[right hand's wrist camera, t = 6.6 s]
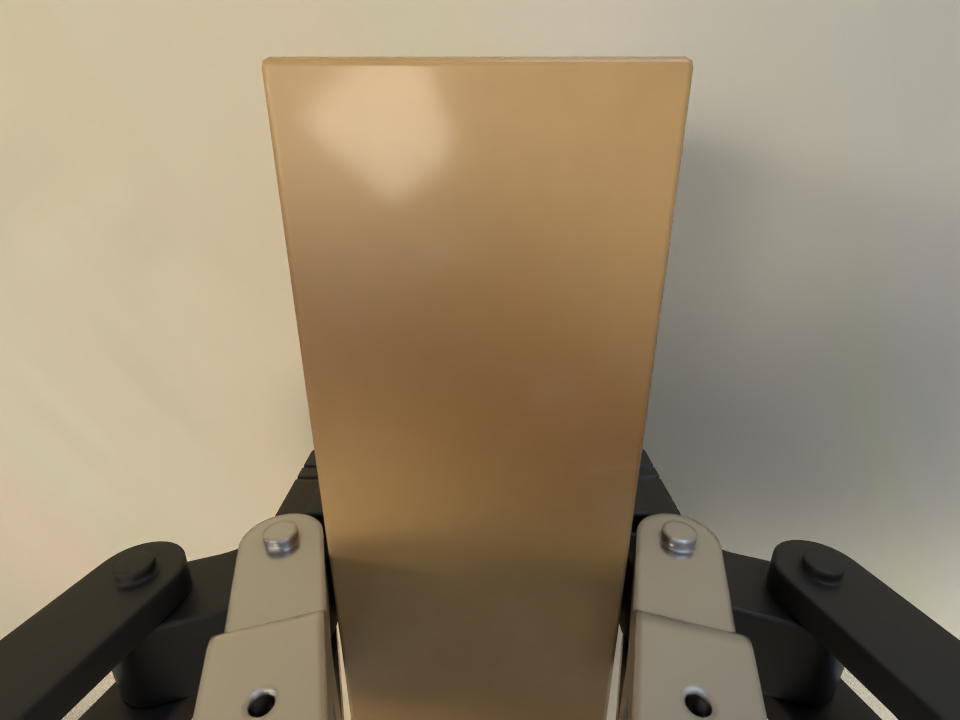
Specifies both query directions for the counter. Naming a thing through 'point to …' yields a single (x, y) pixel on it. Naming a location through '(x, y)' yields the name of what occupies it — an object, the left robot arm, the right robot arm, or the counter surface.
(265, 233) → the counter surface
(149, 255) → the counter surface
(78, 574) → the counter surface
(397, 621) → the post
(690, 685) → the right robot arm
